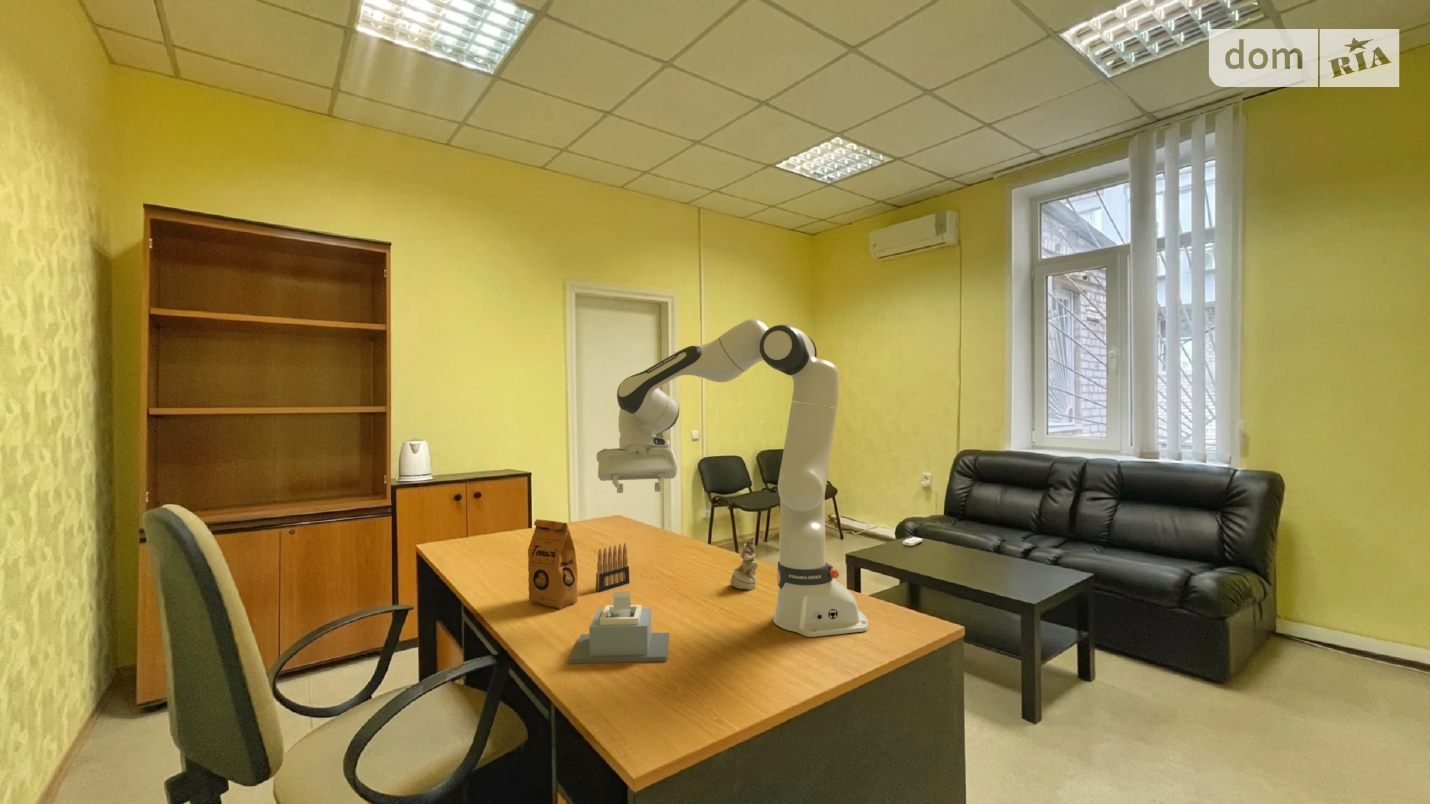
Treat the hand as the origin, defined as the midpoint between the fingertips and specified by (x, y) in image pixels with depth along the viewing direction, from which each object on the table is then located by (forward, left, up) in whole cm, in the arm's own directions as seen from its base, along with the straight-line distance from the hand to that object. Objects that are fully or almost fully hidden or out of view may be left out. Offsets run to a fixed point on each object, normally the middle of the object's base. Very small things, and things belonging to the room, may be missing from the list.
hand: (639, 490), depth 142 cm
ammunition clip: (+10, -23, -32) cm, 40 cm away
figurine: (-28, -21, -32) cm, 47 cm away
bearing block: (+2, +19, -31) cm, 37 cm away
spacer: (+2, +19, -24) cm, 31 cm away
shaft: (+2, +19, -30) cm, 36 cm away
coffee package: (+24, -11, -32) cm, 41 cm away
